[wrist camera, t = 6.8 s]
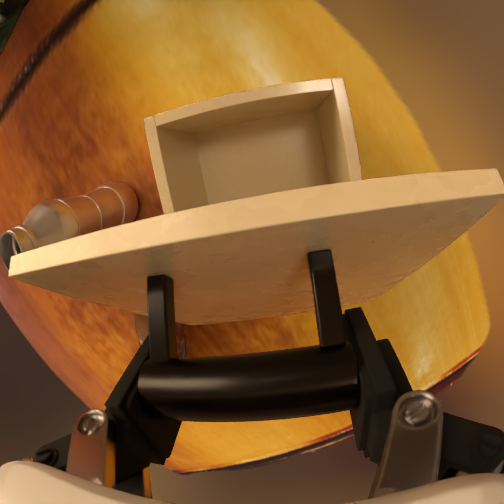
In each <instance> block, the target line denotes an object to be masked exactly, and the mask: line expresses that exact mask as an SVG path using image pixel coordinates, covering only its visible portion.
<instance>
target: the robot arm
mask: <svg viewBox="0 0 504 504" xmlns="http://www.w3.org/2000/svg"><path fill="white" fill-rule="evenodd" d="M342 316H343V323H344V330H345V337H346V340H349V341H350V342H351V343H352V345H353V347H354V350H355V354H356V358H357V363H358V368H359V376H360V402H359V406H358V407H357V408H356V409H352V410H350V414H351V419H352V424H353V429H354V434H355V440H356V445H357V449H358V451H360V450H364V456H365V458H366V457H370V460H371V461H372V462H374V463H377V464H378V467H377V470H376V474H375V477H374V481H373V484H372V487H371V491H370V494H369V497H368V499H367V500H362V501H357V502H351V503H345V504H504V432H503V431H501V430H500V429H498V428H495V427H492V426H488V425H485V424H481V423H477V422H474V421H470V420H467V419H464V418H461V417H457V416H454V415H451V414H448V413H445V412H443V407H442V402H441V401H440V399H439V398H438V397H437V396H436V395H435V394H433V393H431V392H428V391H423V390H416V391H413V390H412V387H411V385H410V383H409V381H408V379H407V376H406V374H405V372H404V370H403V368H402V366H401V364H400V362H399V359H398V357H397V355H396V353H395V351H394V349H393V347H392V345H391V343H390V341H389V340H388V339H382V340H378V341H376V339H375V337H374V334H373V332H372V330H371V328H370V326H369V323H368V321H367V319H366V317H365V315H364V313H363V311H362V309H361V307H358V308H353V309H347V310H345V314H343V315H342ZM178 358H179V357H178ZM149 359H150V350H149V334H148V335H147V337H146V339H145V340H144V342H143V343H142V345H141V346H140V348H139V350H138V351H137V353H136V354H135V356H134V357H133V359H132V361H131V362H130V364H129V365H128V367H127V369H126V370H125V372H124V373H123V375H122V377H121V378H120V380H119V381H118V383H117V385H116V386H115V388H114V390H113V391H112V393H111V395H110V396H109V398H108V400H107V401H106V403H105V406H106V407H107V408H106V410H105V412H104V411H103V410H101V409H90V410H87V411H85V412H83V413H82V414H81V415H79V416H78V418H77V419H76V420H75V423H74V426H73V431H72V433H71V434H69V435H67V436H65V437H63V438H60V439H58V440H55V441H53V442H51V443H48V444H46V445H44V446H42V447H40V448H39V449H38V450H37V452H36V453H35V455H34V457H33V456H30V457H27V458H24V459H22V460H19V461H14V462H8V463H6V464H4V465H2V466H1V467H0V504H175V503H169V502H164V501H159V500H154V499H152V492H151V483H150V474H149V465H150V463H155V464H161V465H164V463H165V460H166V458H169V457H170V455H171V452H172V449H173V446H174V443H175V440H176V437H177V434H178V431H179V428H180V425H181V422H182V421H175V420H162V419H154V418H151V417H150V416H148V415H147V414H146V413H145V412H144V410H143V408H142V406H141V404H140V401H139V397H138V389H137V384H138V376H139V372H140V369H141V367H142V365H143V364H144V363H145V362H146V361H147V360H149Z"/></svg>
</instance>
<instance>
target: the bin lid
mask: <svg viewBox="0 0 504 504" xmlns="http://www.w3.org/2000/svg"><path fill="white" fill-rule="evenodd" d="M503 197H504V184H503V181H502V179H501V177H500V175H499V173H498V170H497V169H479V170H460V171H446V172H433V173H421V174H411V175H400V176H391V177H382V178H373V179H365V180H357V181H349V182H342V183H334V184H327V185H320V186H314V187H307V188H300V189H294V190H288V191H282V192H276V193H270V194H264V195H259V196H253V197H248V198H242V199H237V200H232V201H226V202H221V203H216V204H211V205H206V206H201V207H197V208H192V209H187V210H183V211H178V212H173V213H169V214H164V215H160V216H156V217H151V218H147V219H143V220H139V221H135V222H131V223H127V224H122V225H119V226H115V227H111V228H107V229H103V230H99V231H95V232H92V233H88V234H84V235H81V236H77V237H73V238H70V239H66V240H63V241H59V242H56V243H53V244H49V245H46V246H43V247H39V248H36V249H33V250H30V251H26V252H23V253H20V254H17V255H14V256H11V261H10V268H9V277H10V278H13V279H16V280H19V281H22V282H25V283H28V284H31V285H34V286H37V287H40V288H43V289H46V290H50V291H53V292H56V293H59V294H63V295H66V296H70V297H73V298H77V299H80V300H84V301H88V302H91V303H95V304H99V305H103V306H107V307H111V308H115V309H119V310H123V311H127V312H131V313H136V314H140V315H145V316H148V334H149V350H150V359H149V360H147V361H146V362H145V363H144V364H143V365H142V367H141V369H140V372H139V376H138V384H137V389H138V397H139V401H140V404H141V406H142V408H143V410H144V412H145V413H146V414H147V415H148V416H150V417H151V418H154V419H162V420H175V421H195V422H245V421H265V420H279V419H290V418H299V417H307V416H315V415H322V414H329V413H335V412H341V411H346V410H352V409H356V408H357V407H358V406H359V402H360V376H359V368H358V363H357V358H356V354H355V350H354V347H353V345H352V343H351V342H350V341H349V340H346V337H345V330H344V323H343V316H342V309H341V306H347V305H352V304H358V303H363V302H368V301H373V300H375V299H376V298H378V297H379V296H381V295H382V294H383V293H385V292H386V291H388V290H389V289H391V288H392V287H394V286H395V285H397V284H398V283H399V282H401V281H402V280H404V279H405V278H406V277H408V276H409V275H411V274H412V273H413V272H415V271H416V270H417V269H419V268H420V267H421V266H423V265H424V264H425V263H427V262H428V261H429V260H431V259H432V258H433V257H435V256H436V255H437V254H438V253H440V252H441V251H442V250H443V249H445V248H446V247H447V246H448V245H450V244H451V243H452V242H453V241H455V240H456V239H457V238H458V237H459V236H461V235H462V234H463V233H464V232H465V231H467V230H468V229H469V228H470V227H471V226H472V225H473V224H475V223H476V222H477V221H478V220H479V219H480V218H481V217H483V216H484V215H485V214H486V213H487V212H488V211H489V210H490V209H491V208H492V207H493V206H495V205H496V204H497V203H498V202H499V201H500V200H501V199H502V198H503ZM310 311H315V314H316V322H317V329H318V337H319V345H314V346H308V347H301V348H293V349H285V350H277V351H268V352H259V353H249V354H237V355H224V356H208V357H187V358H178V352H177V339H176V324H175V322H178V323H183V324H189V325H203V324H214V323H224V322H234V321H243V320H252V319H260V318H268V317H276V316H283V315H290V314H297V313H304V312H310Z"/></svg>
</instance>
